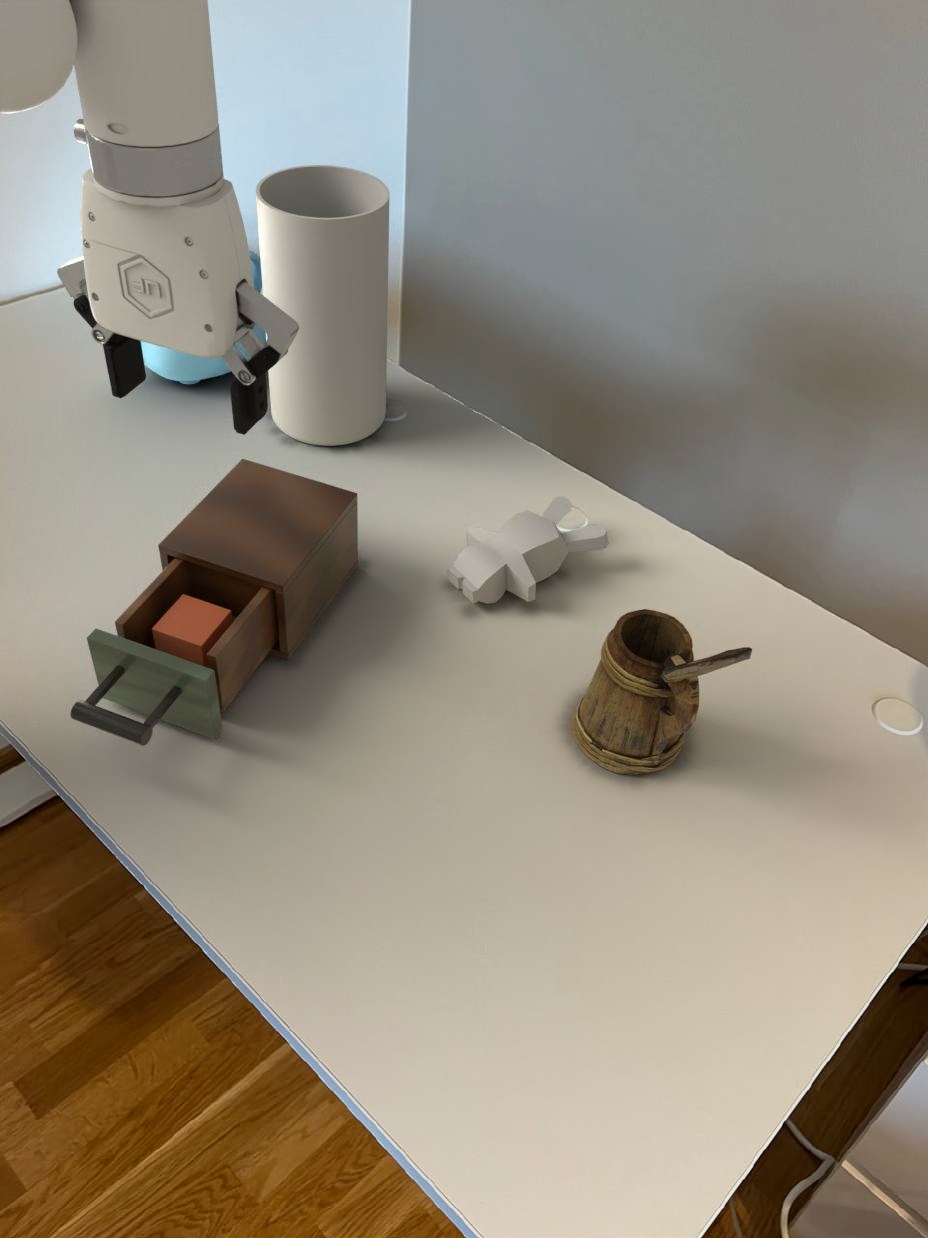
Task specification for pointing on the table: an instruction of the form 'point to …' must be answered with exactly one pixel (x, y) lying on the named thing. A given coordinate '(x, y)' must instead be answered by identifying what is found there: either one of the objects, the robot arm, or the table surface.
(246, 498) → the cabinet
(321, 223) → the cylinder vase
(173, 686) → the drawer
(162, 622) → the block
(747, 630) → the table surface
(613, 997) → the table surface
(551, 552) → the bunny figurine
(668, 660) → the wooden mug
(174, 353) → the decorative pot
